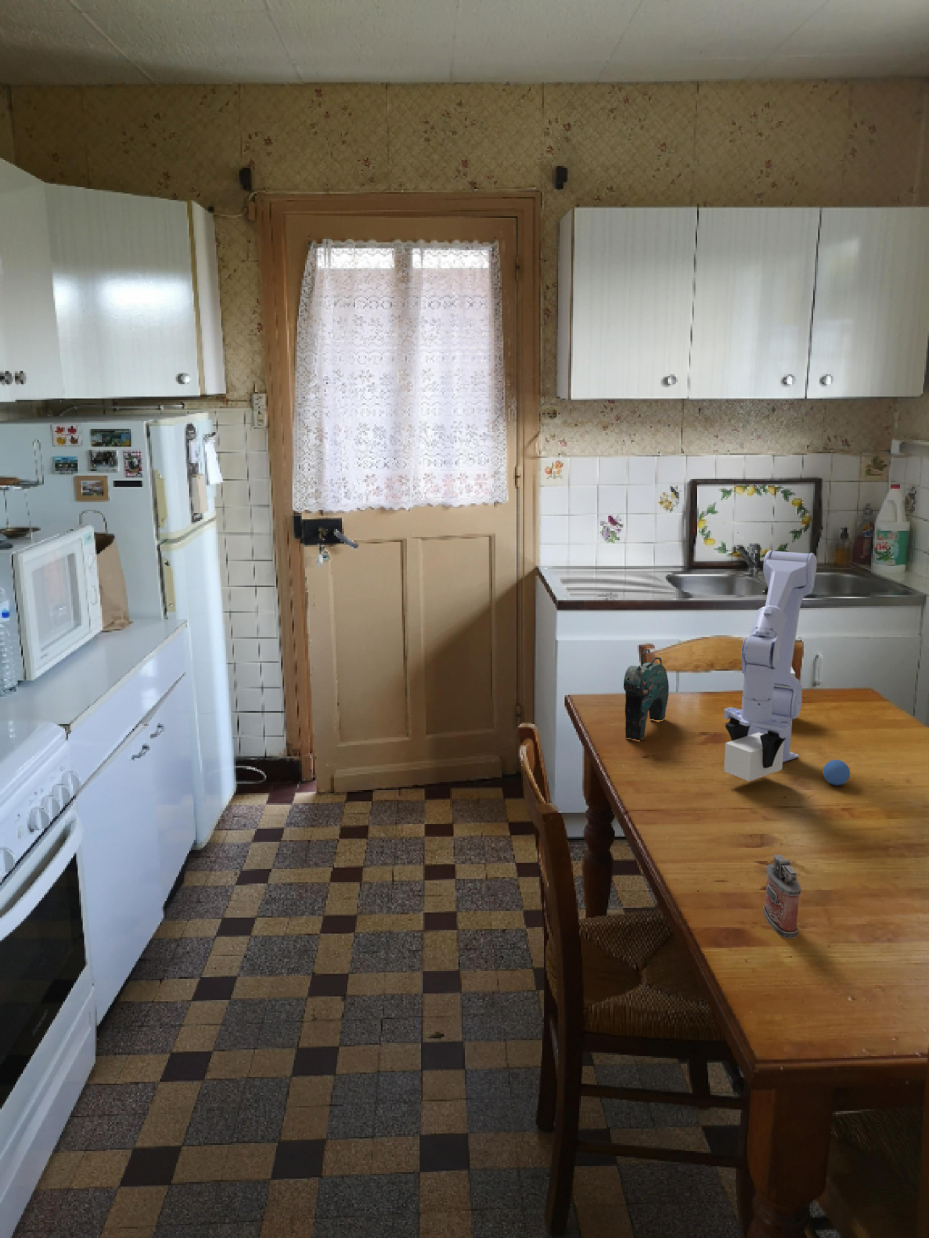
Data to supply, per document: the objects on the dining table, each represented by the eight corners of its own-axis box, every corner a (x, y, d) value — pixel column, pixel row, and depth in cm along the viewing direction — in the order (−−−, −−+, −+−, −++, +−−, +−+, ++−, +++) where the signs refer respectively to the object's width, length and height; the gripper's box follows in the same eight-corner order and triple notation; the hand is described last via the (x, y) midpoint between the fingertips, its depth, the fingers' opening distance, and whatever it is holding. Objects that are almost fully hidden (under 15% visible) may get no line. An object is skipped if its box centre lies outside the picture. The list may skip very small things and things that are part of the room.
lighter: (758, 909, 144) (762, 848, 142) (779, 907, 145) (784, 847, 142) (779, 938, 137) (784, 875, 134) (802, 937, 137) (807, 874, 134)
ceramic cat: (641, 745, 211) (644, 659, 206) (614, 740, 214) (616, 655, 210) (672, 719, 227) (676, 638, 223) (647, 715, 231) (649, 635, 226)
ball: (816, 783, 190) (818, 759, 189) (832, 777, 193) (834, 754, 192) (838, 791, 186) (841, 767, 185) (854, 785, 189) (856, 761, 188)
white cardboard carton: (749, 781, 184) (750, 752, 183) (723, 771, 189) (725, 742, 188) (782, 769, 190) (784, 741, 189) (756, 759, 195) (758, 732, 194)
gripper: (715, 690, 190) (711, 754, 193) (775, 710, 178) (770, 777, 181) (738, 684, 194) (734, 747, 197) (799, 703, 182) (794, 769, 185)
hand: (753, 761), depth 189 cm, fingers closed on white cardboard carton, 6 cm apart
